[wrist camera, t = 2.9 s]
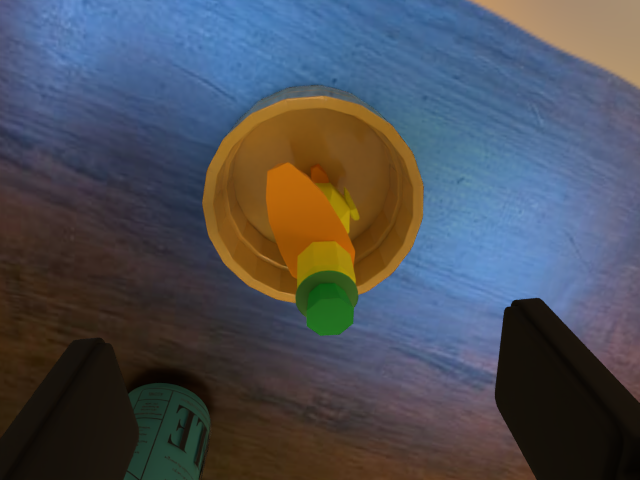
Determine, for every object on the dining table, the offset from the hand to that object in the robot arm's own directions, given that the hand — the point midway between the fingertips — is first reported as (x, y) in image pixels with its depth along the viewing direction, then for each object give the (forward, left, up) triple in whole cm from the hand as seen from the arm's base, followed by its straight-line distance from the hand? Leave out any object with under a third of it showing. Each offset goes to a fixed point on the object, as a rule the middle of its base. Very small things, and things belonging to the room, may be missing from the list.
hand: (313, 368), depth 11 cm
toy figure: (0, 0, -16) cm, 16 cm away
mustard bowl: (0, 0, -16) cm, 16 cm away
